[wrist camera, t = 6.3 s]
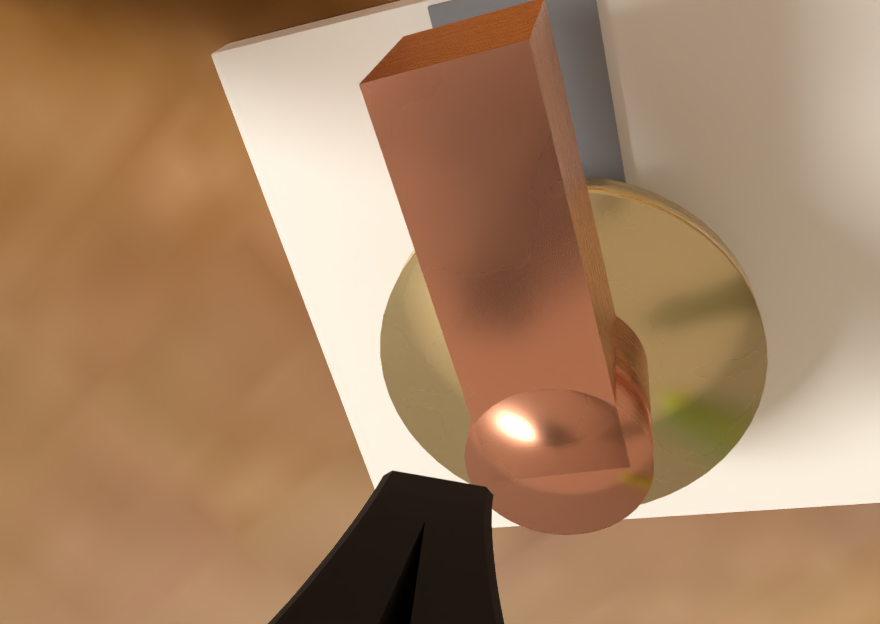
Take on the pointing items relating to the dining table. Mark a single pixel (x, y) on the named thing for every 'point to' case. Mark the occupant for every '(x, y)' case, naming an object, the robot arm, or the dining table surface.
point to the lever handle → (548, 291)
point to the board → (629, 161)
